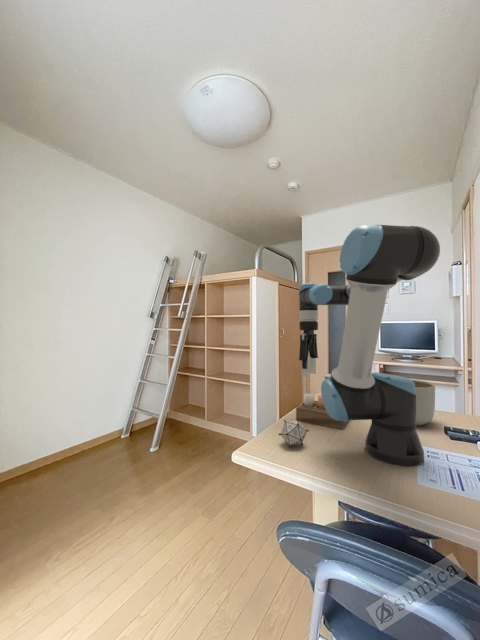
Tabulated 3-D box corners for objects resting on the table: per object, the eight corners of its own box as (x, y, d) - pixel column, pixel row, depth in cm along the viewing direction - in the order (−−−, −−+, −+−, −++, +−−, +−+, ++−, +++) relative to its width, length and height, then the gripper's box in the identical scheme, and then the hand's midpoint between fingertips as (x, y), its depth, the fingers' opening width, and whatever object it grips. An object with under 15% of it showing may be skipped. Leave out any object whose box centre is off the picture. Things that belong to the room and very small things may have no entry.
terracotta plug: (327, 412, 107) (327, 398, 107) (316, 411, 110) (316, 397, 110) (330, 410, 111) (330, 396, 111) (320, 408, 113) (319, 394, 114)
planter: (392, 427, 101) (391, 386, 102) (380, 413, 118) (379, 377, 118) (444, 431, 97) (443, 388, 98) (424, 415, 114) (424, 379, 114)
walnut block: (342, 429, 100) (342, 415, 100) (296, 420, 109) (296, 407, 110) (350, 418, 111) (350, 406, 111) (308, 410, 121) (308, 399, 121)
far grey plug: (312, 410, 111) (312, 396, 111) (302, 408, 113) (302, 395, 113) (316, 407, 114) (316, 394, 114) (306, 405, 117) (305, 393, 117)
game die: (294, 454, 89) (302, 424, 94) (308, 455, 81) (316, 422, 86) (270, 442, 88) (280, 412, 92) (283, 442, 80) (292, 410, 85)
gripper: (308, 321, 125) (309, 370, 125) (290, 320, 108) (290, 378, 107) (324, 321, 121) (325, 372, 121) (308, 320, 104) (309, 380, 103)
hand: (309, 374), depth 114 cm, fingers open, 8 cm apart
